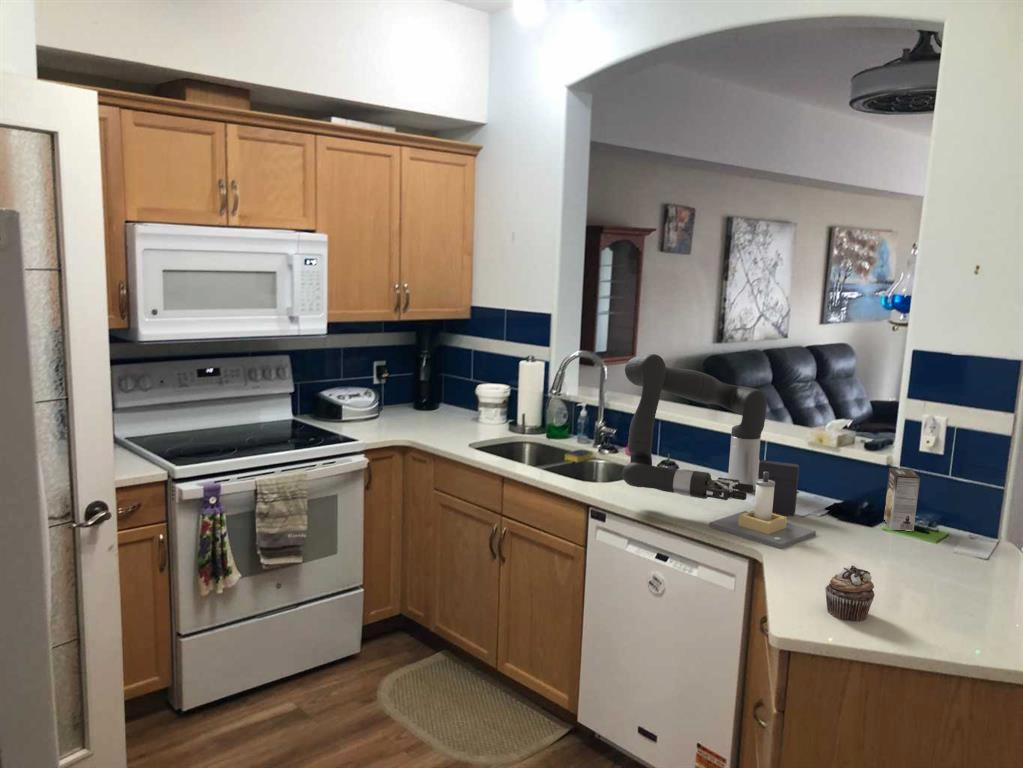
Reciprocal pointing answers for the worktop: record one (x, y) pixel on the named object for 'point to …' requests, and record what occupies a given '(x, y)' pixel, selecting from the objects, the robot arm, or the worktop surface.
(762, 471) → the dark grey upright panel
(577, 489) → the worktop surface
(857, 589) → the cupcake
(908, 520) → the coffee box
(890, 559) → the worktop surface
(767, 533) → the socket dock
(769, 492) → the white cylindrical bottle
